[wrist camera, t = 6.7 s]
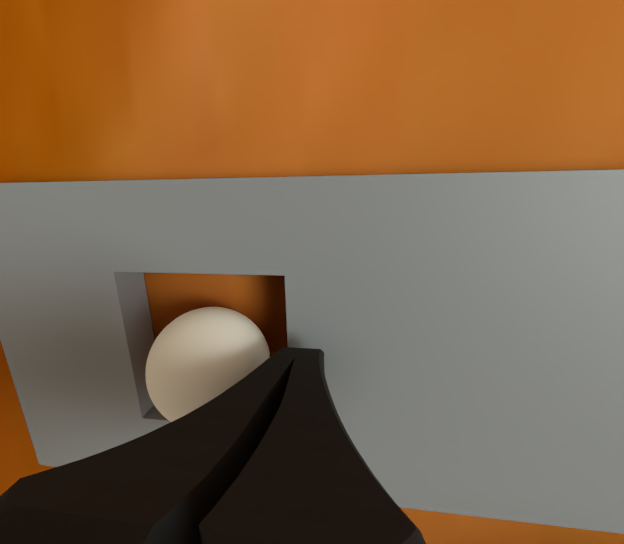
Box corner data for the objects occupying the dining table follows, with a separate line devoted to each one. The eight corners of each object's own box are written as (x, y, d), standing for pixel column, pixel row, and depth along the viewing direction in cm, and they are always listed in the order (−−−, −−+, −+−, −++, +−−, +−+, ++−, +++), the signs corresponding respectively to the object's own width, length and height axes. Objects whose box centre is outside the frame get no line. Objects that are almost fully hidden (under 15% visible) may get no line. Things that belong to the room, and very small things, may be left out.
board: (682, 502, 12) (725, 546, 11) (68, 438, 16) (39, 464, 14) (811, 165, 9) (898, 163, 7) (-3, 183, 13) (-49, 184, 11)
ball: (174, 378, 13) (271, 368, 14) (143, 469, 10) (276, 450, 10) (154, 291, 12) (265, 283, 12) (108, 361, 8) (268, 345, 9)
